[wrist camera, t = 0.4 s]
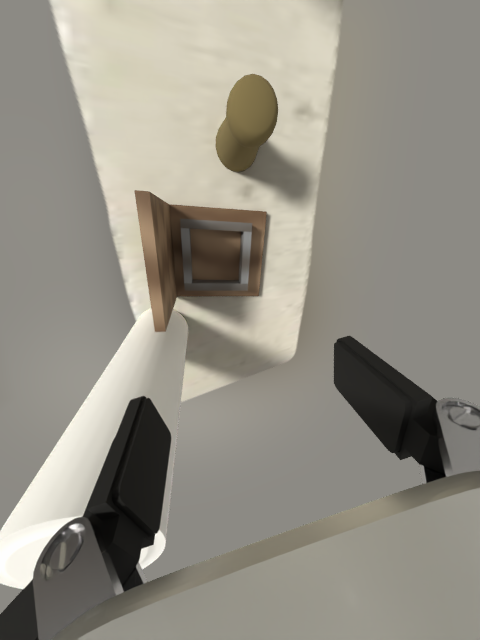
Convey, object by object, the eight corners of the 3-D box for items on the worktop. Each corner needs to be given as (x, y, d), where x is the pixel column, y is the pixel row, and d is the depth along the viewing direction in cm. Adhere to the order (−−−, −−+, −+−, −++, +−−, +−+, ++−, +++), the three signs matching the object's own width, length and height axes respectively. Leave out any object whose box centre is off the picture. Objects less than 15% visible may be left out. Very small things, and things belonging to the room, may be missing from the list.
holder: (161, 204, 30) (134, 190, 17) (264, 212, 33) (304, 204, 20) (170, 294, 36) (154, 332, 23) (257, 294, 39) (284, 327, 26)
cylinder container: (197, 337, 40) (192, 557, 14) (155, 357, 41) (72, 611, 14) (171, 298, 36) (89, 507, 9) (124, 321, 36) (-82, 587, 10)
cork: (262, 127, 28) (296, 76, 18) (251, 177, 30) (275, 155, 21) (220, 109, 27) (232, 42, 17) (211, 163, 29) (218, 132, 19)
